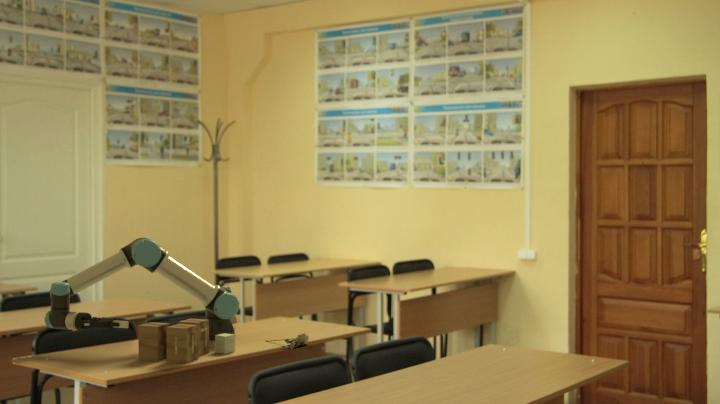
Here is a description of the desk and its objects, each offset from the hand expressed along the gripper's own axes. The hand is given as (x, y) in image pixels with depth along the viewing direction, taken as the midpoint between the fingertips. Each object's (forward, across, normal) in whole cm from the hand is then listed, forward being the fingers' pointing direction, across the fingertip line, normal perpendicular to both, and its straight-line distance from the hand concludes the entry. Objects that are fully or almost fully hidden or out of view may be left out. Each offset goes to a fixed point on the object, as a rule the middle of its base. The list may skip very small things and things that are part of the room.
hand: (127, 324), depth 372 cm
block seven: (+23, -14, -13) cm, 30 cm away
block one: (+26, 0, -13) cm, 29 cm away
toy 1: (0, -81, -13) cm, 82 cm away
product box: (+32, -23, -13) cm, 42 cm away
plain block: (+13, 0, -13) cm, 18 cm away
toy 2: (+49, -45, -13) cm, 68 cm away
